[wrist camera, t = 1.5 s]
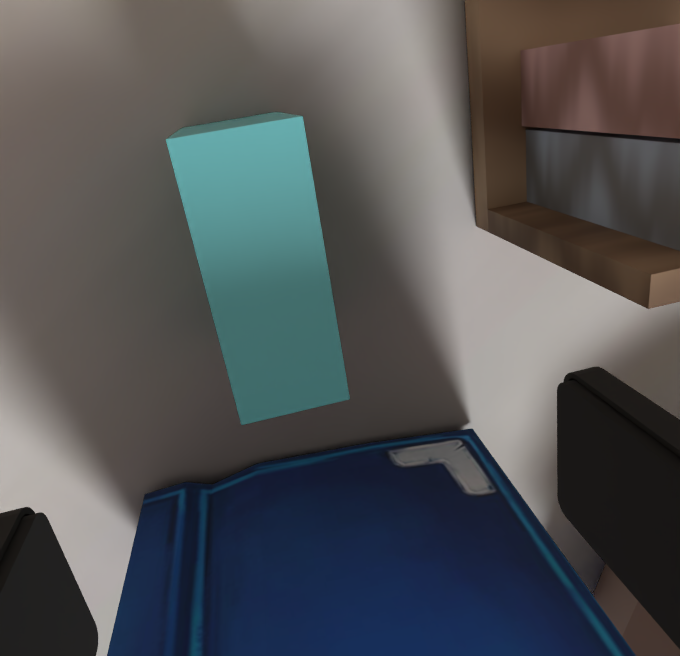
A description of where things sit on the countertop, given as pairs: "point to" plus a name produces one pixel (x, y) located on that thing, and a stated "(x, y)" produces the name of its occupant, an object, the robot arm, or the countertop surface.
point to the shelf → (581, 136)
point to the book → (356, 562)
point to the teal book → (262, 261)
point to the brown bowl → (632, 618)
